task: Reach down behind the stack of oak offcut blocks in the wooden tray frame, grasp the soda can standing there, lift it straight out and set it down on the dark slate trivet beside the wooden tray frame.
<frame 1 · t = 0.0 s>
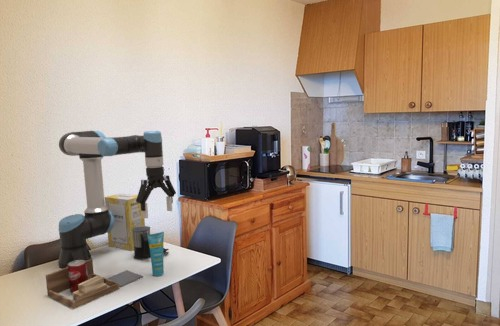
hand: (158, 214, 173), 28 cm above the table, fingers open, 13 cm apart
milk frother: (151, 255, 202), on the table
soda can: (79, 290, 164), resting in wooden tray frame
trivet: (123, 279, 174), on the table
bottom offcut: (90, 296, 159), resting in wooden tray frame, touching top offcut
tube: (158, 274, 178), on the table
top offcut: (91, 288, 159), point 3 cm above the table, touching bottom offcut
pasta box: (127, 246, 219), on the table
wooden tray frame: (84, 292, 162), on the table
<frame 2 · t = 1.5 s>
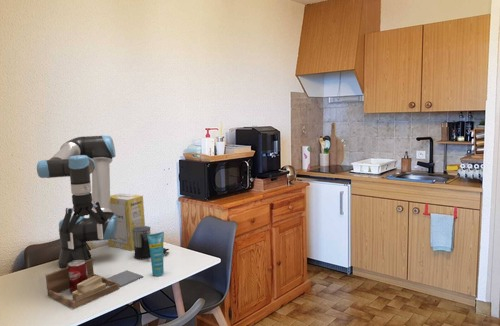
hand: (86, 243, 163), 19 cm above the table, fingers open, 13 cm apart
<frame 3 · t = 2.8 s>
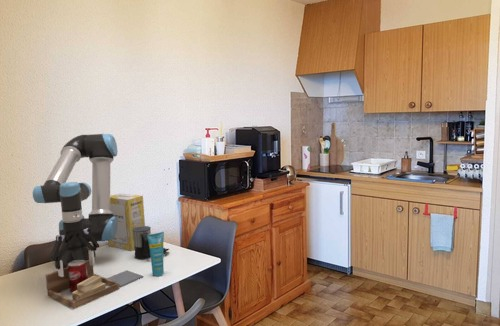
hand: (77, 270, 163), 9 cm above the table, fingers open, 13 cm apart
nothing on the table moved.
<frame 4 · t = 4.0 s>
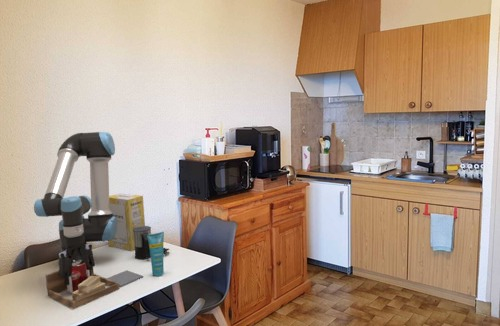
hand: (79, 287, 164), 1 cm above the table, fingers closed on soda can, 7 cm apart
soda can: (79, 290, 164), resting in wooden tray frame, touching gripper
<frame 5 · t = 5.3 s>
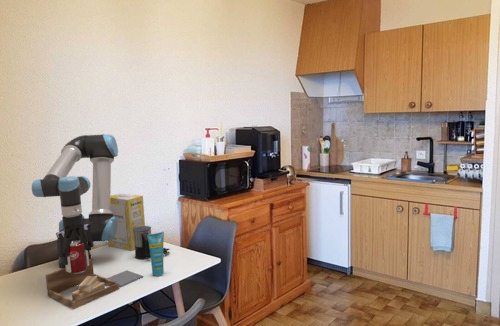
hand: (77, 268, 163), 10 cm above the table, fingers closed on soda can, 7 cm apart
soda can: (78, 271, 164), point 8 cm above the table, touching gripper
bottom offcut: (89, 295, 160), resting in wooden tray frame
top offcut: (88, 287, 159), point 3 cm above the table
everything else where it was.
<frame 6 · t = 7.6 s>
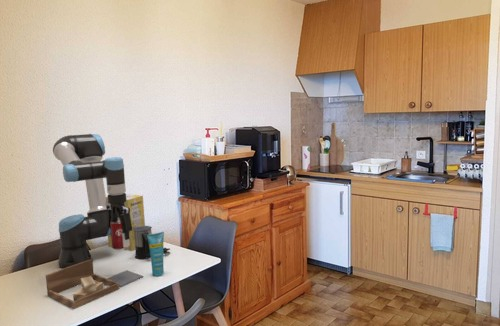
hand: (120, 244, 172), 16 cm above the table, fingers closed on soda can, 7 cm apart
soda can: (121, 247, 172), point 14 cm above the table, touching gripper
bottom offcut: (89, 296, 159), resting in wooden tray frame, touching top offcut
top offcut: (88, 287, 159), point 3 cm above the table, touching bottom offcut
everything else where it was.
when the fingers open (3 cm above the table, at t = 10.1 s): soda can drops 1 cm, resting on trivet.
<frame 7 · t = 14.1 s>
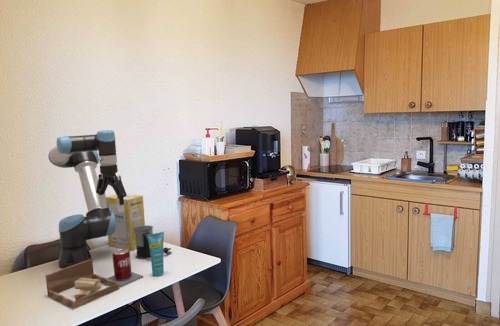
hand: (112, 210, 181), 29 cm above the table, fingers open, 13 cm apart
soda can: (123, 278, 174), point 1 cm above the table, touching trivet
at the end: soda can inside the target area on the trivet (0.1 cm from its centre), point 0.5 cm above the trivet's base; soda can tilted 0°; bottom offcut moved 1.4 cm from its start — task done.
